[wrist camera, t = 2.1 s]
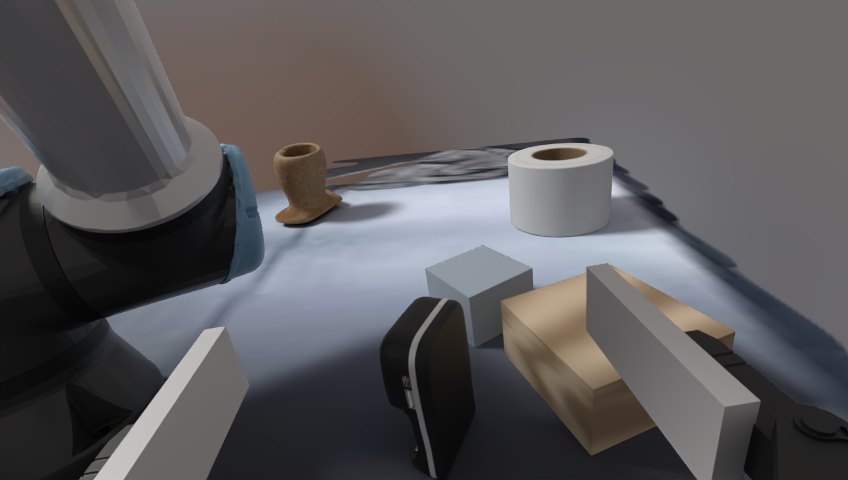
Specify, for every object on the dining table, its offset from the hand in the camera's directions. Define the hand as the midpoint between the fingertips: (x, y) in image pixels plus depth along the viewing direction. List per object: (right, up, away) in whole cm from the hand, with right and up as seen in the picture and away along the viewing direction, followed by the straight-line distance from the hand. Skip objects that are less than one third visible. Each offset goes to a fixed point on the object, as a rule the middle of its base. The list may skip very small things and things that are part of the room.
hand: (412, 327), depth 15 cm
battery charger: (+2, -12, +16) cm, 21 cm away
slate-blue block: (+7, -5, +30) cm, 32 cm away
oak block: (+16, -8, +20) cm, 27 cm away
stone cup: (-23, +8, +72) cm, 76 cm away
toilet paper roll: (+23, +7, +52) cm, 57 cm away
